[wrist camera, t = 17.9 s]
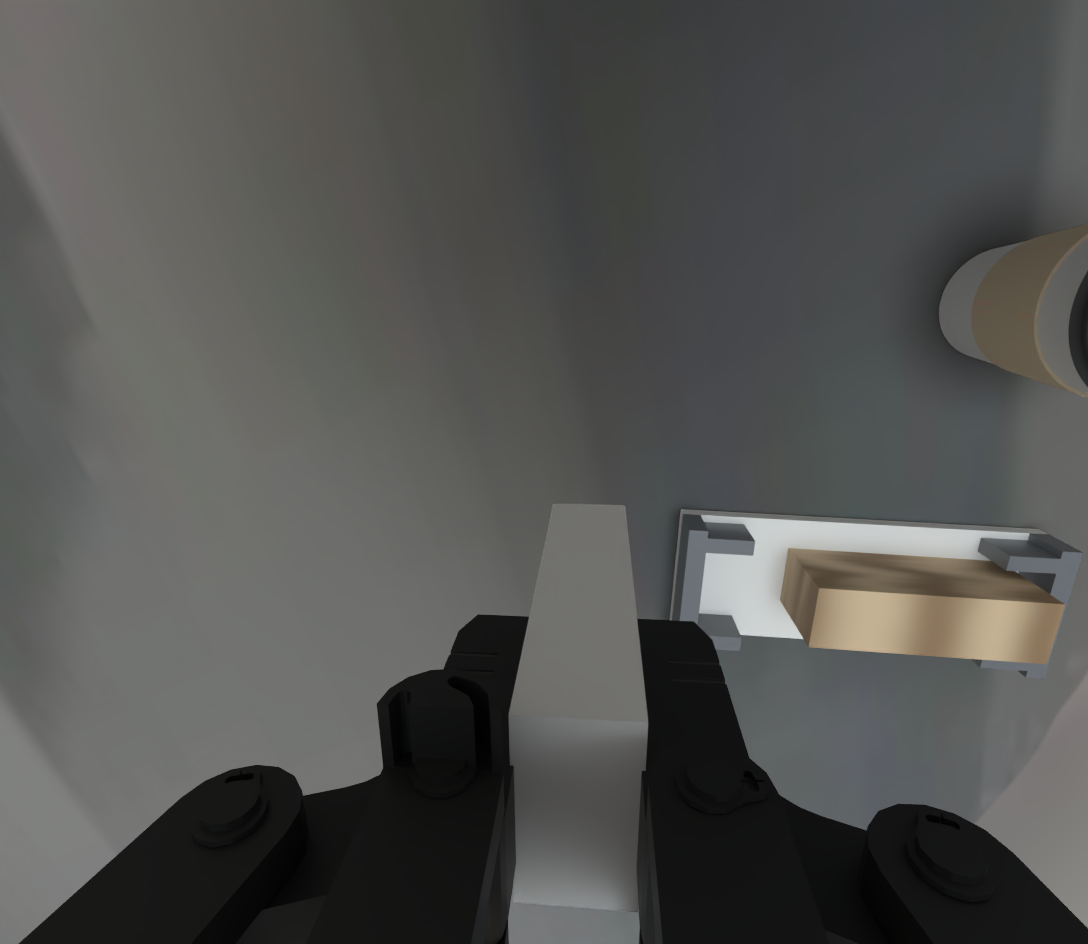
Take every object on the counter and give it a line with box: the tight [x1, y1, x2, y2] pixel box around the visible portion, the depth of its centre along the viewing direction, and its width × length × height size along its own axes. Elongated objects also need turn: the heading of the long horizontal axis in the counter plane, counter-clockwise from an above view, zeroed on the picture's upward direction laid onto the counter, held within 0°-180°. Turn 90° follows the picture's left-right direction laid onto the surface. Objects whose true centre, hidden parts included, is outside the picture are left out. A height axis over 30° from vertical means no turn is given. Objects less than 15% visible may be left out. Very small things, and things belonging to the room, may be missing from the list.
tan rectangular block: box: [780, 548, 1066, 664], centre depth 40 cm, size 14×4×6 cm, turn 88°
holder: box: [670, 509, 1083, 679], centre depth 42 cm, size 9×24×4 cm, turn 88°
